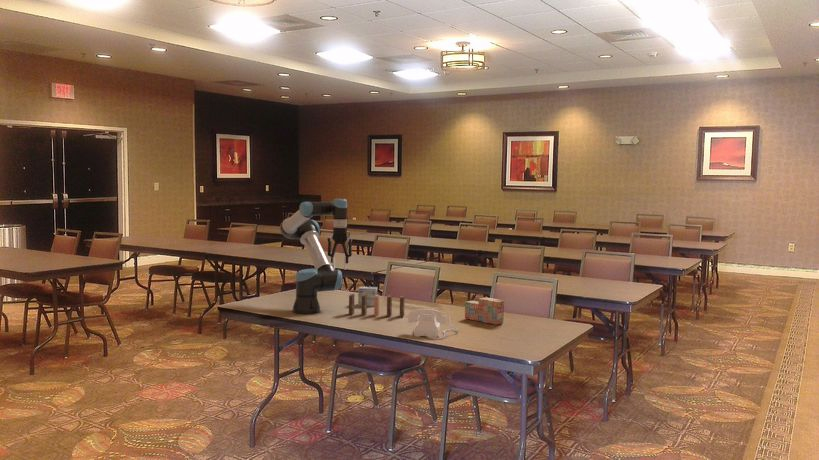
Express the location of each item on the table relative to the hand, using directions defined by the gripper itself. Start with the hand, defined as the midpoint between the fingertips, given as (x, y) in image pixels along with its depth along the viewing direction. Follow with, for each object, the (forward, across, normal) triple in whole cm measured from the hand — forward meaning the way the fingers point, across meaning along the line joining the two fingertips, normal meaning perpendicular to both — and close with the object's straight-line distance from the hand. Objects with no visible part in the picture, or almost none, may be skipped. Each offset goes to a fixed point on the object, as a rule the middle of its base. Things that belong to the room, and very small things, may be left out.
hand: (339, 269), depth 352 cm
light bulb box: (+25, +11, +28) cm, 39 cm away
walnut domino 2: (+25, +14, 0) cm, 29 cm away
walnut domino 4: (+25, +35, 0) cm, 43 cm away
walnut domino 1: (+25, +7, 0) cm, 26 cm away
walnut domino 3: (+25, +28, 0) cm, 37 cm away
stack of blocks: (+25, +79, -2) cm, 83 cm away
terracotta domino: (+25, +21, 0) cm, 33 cm away
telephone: (+25, +55, -38) cm, 71 cm away
